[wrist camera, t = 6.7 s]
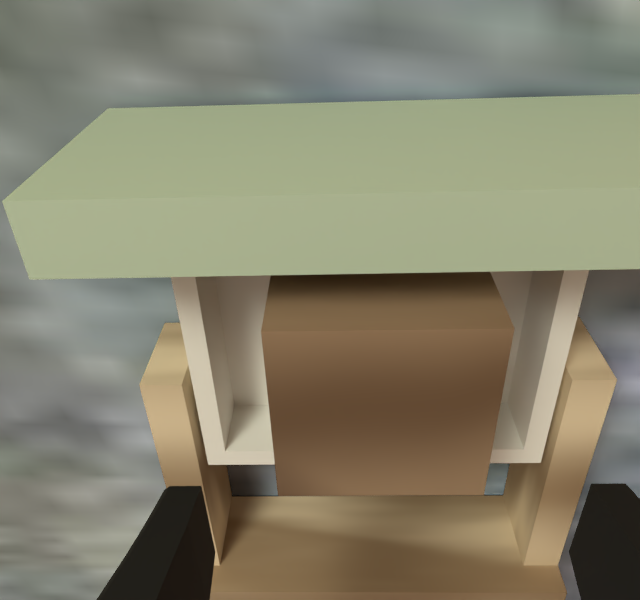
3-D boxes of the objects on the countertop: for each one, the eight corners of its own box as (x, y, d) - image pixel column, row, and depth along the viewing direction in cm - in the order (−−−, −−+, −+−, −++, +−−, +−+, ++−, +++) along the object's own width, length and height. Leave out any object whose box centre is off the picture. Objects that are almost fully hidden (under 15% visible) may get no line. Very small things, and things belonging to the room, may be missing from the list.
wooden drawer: (567, 398, 20) (640, 551, 15) (174, 402, 21) (125, 552, 16) (648, 94, 15) (802, 183, 10) (108, 108, 15) (2, 200, 10)
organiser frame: (529, 513, 24) (560, 610, 21) (206, 514, 24) (186, 609, 21) (579, 317, 19) (632, 405, 15) (165, 322, 19) (129, 410, 16)
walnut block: (449, 363, 19) (483, 495, 14) (290, 365, 19) (278, 495, 15) (467, 218, 16) (514, 328, 12) (280, 221, 16) (260, 331, 12)
